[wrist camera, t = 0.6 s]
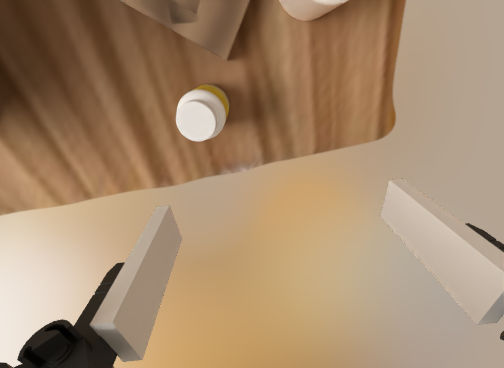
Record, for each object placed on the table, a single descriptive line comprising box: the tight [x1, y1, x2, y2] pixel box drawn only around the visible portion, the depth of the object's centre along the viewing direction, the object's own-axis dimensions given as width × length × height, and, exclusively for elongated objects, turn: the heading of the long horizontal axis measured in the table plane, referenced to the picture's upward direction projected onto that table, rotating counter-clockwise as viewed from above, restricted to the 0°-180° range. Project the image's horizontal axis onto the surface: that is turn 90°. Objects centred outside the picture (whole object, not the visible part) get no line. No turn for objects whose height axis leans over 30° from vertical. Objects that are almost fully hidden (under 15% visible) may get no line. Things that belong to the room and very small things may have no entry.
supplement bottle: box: [176, 84, 229, 141], centre depth 26 cm, size 5×5×10 cm
